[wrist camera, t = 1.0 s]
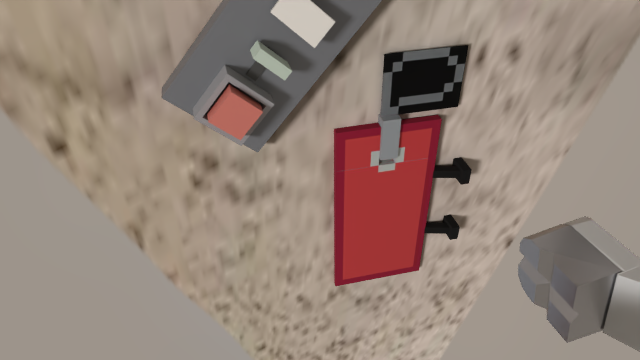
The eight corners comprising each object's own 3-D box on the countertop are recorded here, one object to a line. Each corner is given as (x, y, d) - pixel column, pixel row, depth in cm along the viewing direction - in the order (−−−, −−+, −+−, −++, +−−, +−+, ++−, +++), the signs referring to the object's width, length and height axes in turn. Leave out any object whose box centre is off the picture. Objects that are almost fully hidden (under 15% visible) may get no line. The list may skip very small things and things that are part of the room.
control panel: (323, -145, 35) (338, -143, 32) (410, -52, 40) (430, -42, 37) (161, 88, 42) (161, 108, 39) (254, 141, 47) (260, 163, 44)
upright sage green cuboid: (257, 40, 39) (260, 48, 38) (287, 62, 41) (292, 71, 39) (250, 49, 39) (253, 58, 38) (280, 71, 41) (284, 80, 40)
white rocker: (290, -17, 37) (291, -16, 36) (334, 20, 39) (335, 21, 38) (270, 10, 38) (270, 12, 37) (313, 46, 40) (314, 48, 39)
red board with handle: (481, 39, 47) (332, 55, 45) (496, 50, 45) (340, 67, 42) (440, 257, 65) (332, 278, 62) (450, 272, 63) (338, 294, 60)
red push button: (229, 84, 40) (230, 91, 38) (260, 104, 41) (263, 112, 40) (207, 113, 41) (208, 122, 39) (238, 131, 42) (240, 140, 41)
